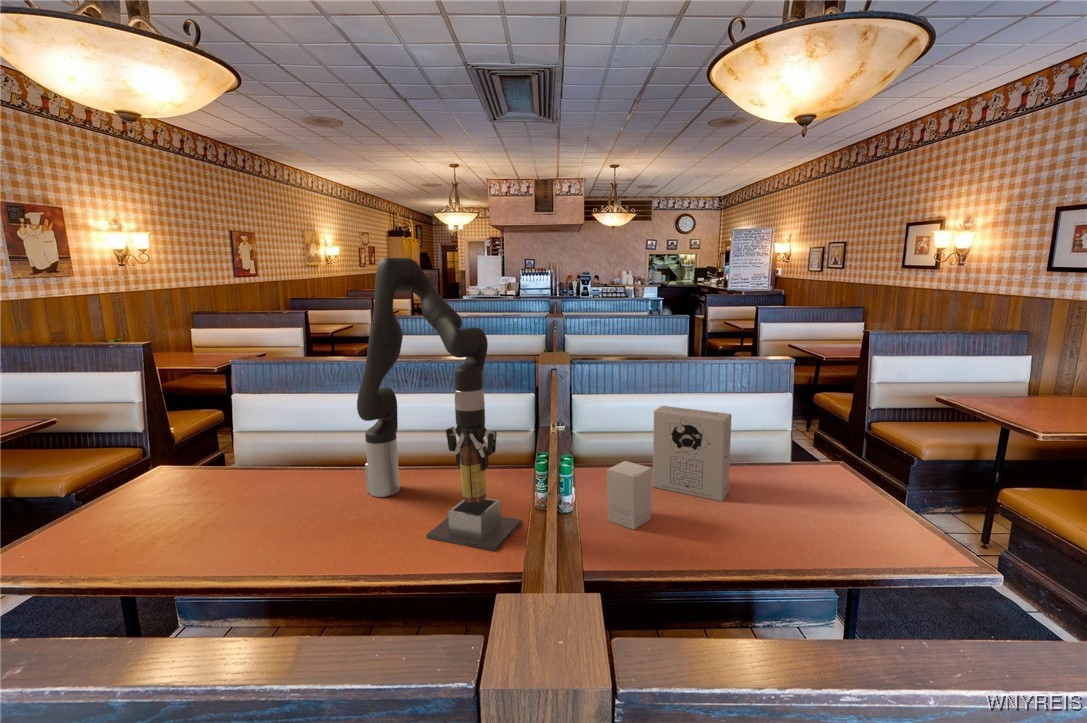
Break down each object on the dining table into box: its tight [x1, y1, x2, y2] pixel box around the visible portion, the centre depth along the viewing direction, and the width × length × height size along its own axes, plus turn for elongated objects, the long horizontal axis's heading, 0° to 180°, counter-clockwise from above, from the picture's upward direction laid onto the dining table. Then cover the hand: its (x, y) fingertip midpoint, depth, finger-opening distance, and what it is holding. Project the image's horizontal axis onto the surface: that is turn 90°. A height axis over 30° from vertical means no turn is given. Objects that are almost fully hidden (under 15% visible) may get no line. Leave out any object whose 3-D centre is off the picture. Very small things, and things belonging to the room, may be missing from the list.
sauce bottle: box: [460, 427, 487, 503], centre depth 139 cm, size 7×6×20 cm
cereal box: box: [652, 405, 732, 502], centre depth 164 cm, size 22×8×25 cm, turn 58°
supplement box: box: [606, 460, 653, 531], centre depth 146 cm, size 9×9×15 cm
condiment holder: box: [426, 497, 523, 552], centre depth 142 cm, size 20×16×7 cm
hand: (472, 468), depth 139 cm, fingers closed on sauce bottle, 6 cm apart
